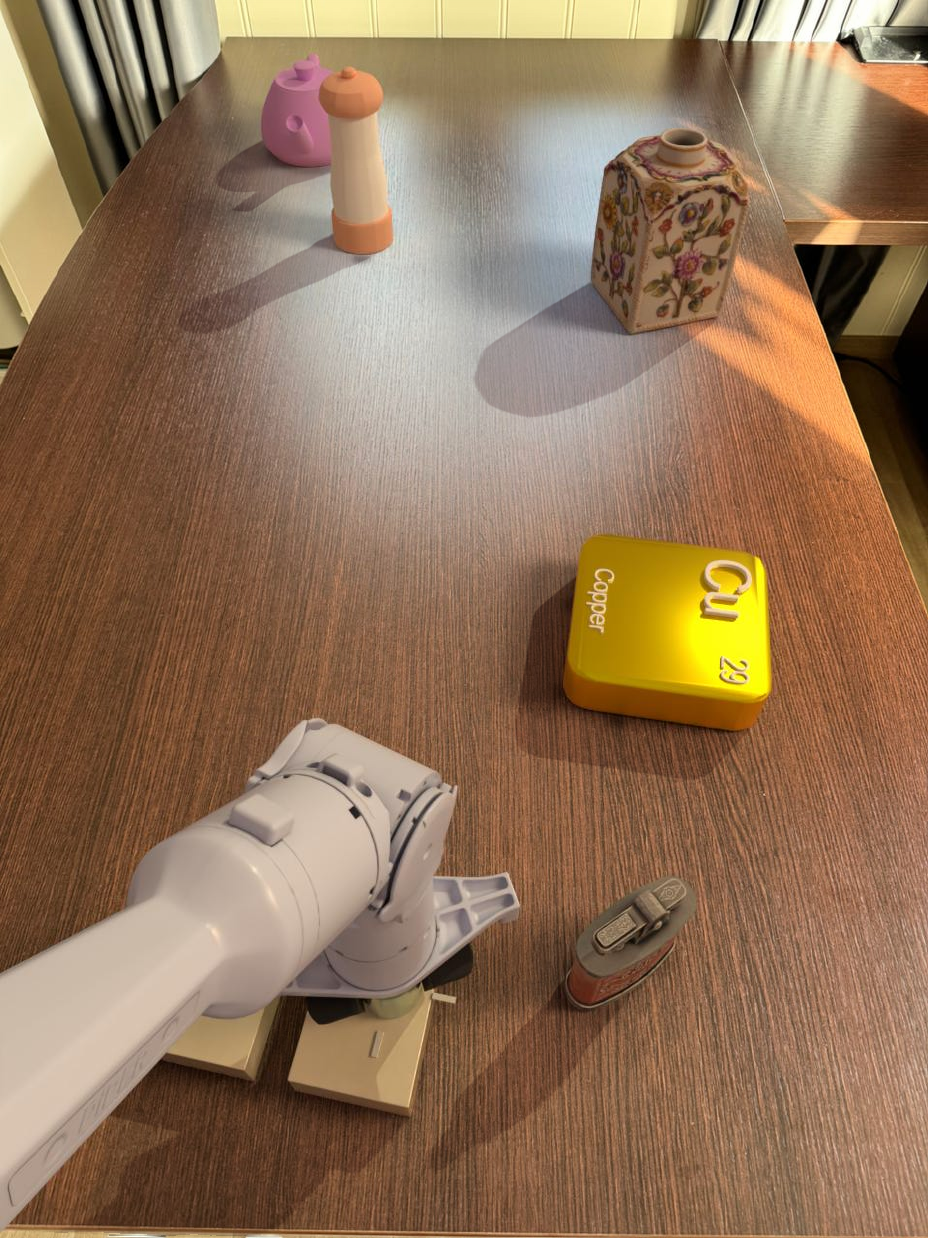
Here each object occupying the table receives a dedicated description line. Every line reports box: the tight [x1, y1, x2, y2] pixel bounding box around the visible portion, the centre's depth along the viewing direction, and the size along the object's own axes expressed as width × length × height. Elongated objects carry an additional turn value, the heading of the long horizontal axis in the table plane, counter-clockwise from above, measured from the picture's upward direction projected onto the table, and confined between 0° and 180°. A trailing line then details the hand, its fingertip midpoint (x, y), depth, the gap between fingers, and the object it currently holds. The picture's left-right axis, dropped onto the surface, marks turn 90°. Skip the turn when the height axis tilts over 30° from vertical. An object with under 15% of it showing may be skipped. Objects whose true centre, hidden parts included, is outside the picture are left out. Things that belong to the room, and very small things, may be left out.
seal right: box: [362, 981, 422, 1019], centre depth 51 cm, size 4×4×4 cm
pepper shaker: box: [318, 66, 394, 255], centre depth 103 cm, size 7×7×19 cm
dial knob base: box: [287, 982, 457, 1118], centre depth 54 cm, size 12×8×3 cm
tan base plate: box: [159, 995, 282, 1082], centre depth 56 cm, size 12×8×3 cm
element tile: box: [562, 533, 773, 732], centre depth 71 cm, size 15×15×5 cm
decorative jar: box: [589, 127, 751, 335], centre depth 95 cm, size 12×12×18 cm
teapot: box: [260, 53, 335, 168], centre depth 120 cm, size 14×20×11 cm
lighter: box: [563, 875, 698, 1013], centre depth 53 cm, size 8×3×10 cm, turn 123°
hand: (391, 984), depth 53 cm, fingers closed on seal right, 3 cm apart
